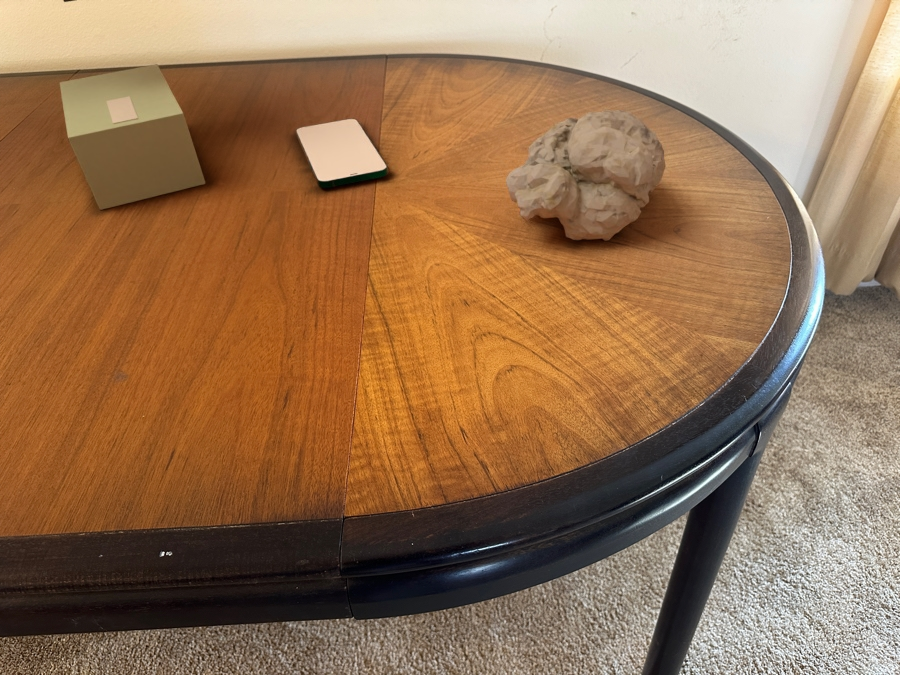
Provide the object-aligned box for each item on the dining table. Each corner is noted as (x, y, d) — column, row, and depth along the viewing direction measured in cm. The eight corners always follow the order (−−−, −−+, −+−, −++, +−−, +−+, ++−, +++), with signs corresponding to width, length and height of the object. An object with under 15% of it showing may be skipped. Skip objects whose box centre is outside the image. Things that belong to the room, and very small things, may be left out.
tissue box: (87, 147, 81) (58, 81, 75) (178, 127, 84) (156, 63, 79) (100, 210, 68) (67, 136, 63) (205, 183, 72) (183, 112, 66)
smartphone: (295, 135, 81) (319, 191, 69) (293, 128, 80) (317, 183, 68) (357, 124, 82) (391, 176, 71) (356, 117, 82) (390, 168, 70)
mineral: (470, 187, 64) (496, 116, 55) (601, 131, 70) (644, 59, 61) (540, 288, 61) (580, 231, 52) (671, 220, 67) (727, 159, 58)
